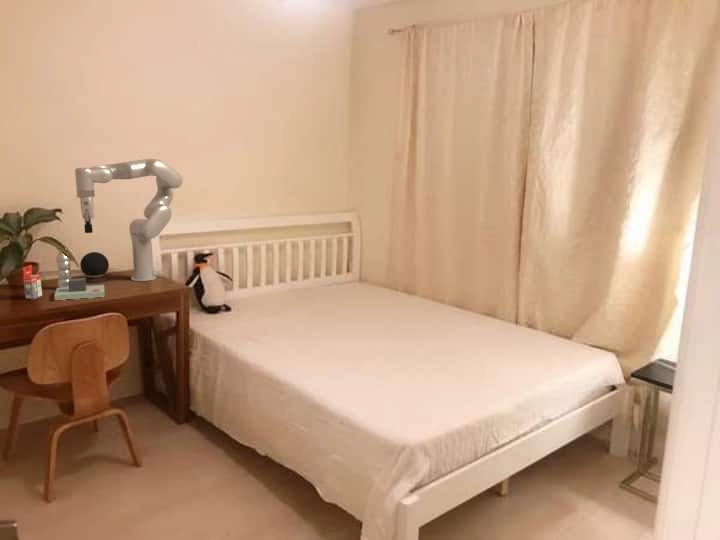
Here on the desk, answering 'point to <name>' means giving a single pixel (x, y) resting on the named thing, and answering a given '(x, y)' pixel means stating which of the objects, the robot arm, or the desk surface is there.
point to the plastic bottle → (63, 269)
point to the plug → (77, 284)
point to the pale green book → (79, 293)
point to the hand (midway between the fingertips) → (88, 232)
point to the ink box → (31, 284)
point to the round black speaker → (94, 267)
